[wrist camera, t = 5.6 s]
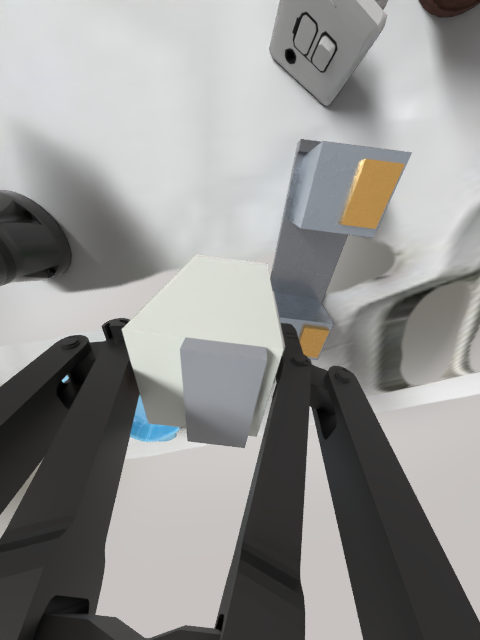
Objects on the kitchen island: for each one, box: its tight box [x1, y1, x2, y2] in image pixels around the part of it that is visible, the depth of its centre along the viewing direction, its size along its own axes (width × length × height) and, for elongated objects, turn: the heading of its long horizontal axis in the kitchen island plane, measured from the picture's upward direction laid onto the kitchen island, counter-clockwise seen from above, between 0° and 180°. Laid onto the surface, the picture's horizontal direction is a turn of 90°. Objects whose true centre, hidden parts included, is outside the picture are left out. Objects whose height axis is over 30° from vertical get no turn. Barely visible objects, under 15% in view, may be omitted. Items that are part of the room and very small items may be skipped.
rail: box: [270, 139, 411, 360], centre depth 31 cm, size 11×32×11 cm, turn 174°
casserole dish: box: [62, 376, 180, 442], centre depth 58 cm, size 37×22×7 cm, turn 39°
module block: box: [122, 255, 284, 448], centre depth 12 cm, size 6×6×11 cm
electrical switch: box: [269, 0, 388, 106], centre depth 19 cm, size 9×5×9 cm, turn 60°
